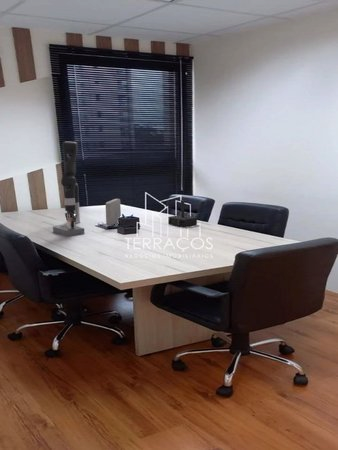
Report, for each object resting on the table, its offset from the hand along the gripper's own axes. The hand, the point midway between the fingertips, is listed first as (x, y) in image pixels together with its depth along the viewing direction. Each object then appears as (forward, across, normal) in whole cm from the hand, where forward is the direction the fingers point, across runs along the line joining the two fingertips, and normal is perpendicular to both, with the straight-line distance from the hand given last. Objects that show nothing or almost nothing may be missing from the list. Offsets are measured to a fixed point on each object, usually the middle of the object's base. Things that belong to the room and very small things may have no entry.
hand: (71, 227), depth 312 cm
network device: (+5, +7, -42) cm, 43 cm away
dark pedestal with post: (+5, -32, -82) cm, 88 cm away
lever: (+1, 0, 0) cm, 1 cm away
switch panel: (+5, +5, 0) cm, 7 cm away
